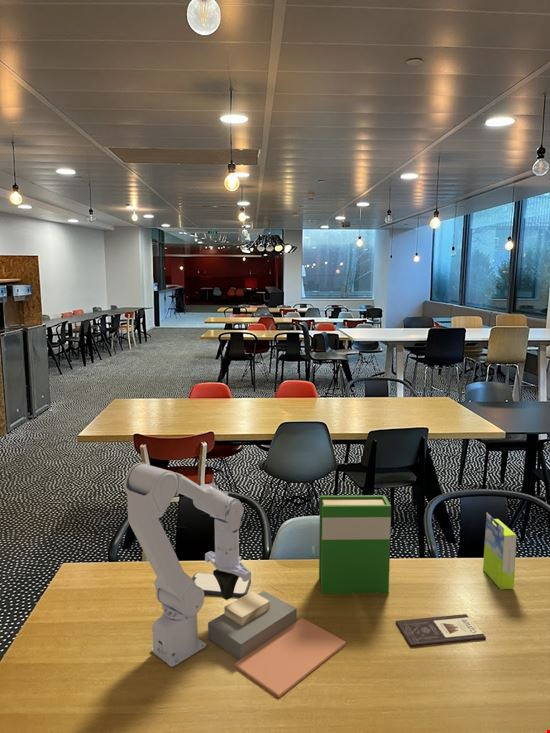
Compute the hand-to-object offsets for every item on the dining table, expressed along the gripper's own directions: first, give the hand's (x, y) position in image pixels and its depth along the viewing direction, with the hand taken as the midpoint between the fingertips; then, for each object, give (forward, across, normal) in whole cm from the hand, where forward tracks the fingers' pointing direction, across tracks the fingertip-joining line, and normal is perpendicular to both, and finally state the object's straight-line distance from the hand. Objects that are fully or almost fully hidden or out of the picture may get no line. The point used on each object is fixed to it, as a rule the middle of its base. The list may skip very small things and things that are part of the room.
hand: (227, 597), depth 130 cm
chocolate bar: (+5, -40, -30) cm, 51 cm away
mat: (+5, -21, 0) cm, 21 cm away
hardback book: (+5, -14, -32) cm, 35 cm away
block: (+5, -9, 0) cm, 10 cm away
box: (+5, -42, -62) cm, 75 cm away
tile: (0, -7, 0) cm, 7 cm away
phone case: (+5, +11, -7) cm, 14 cm away
